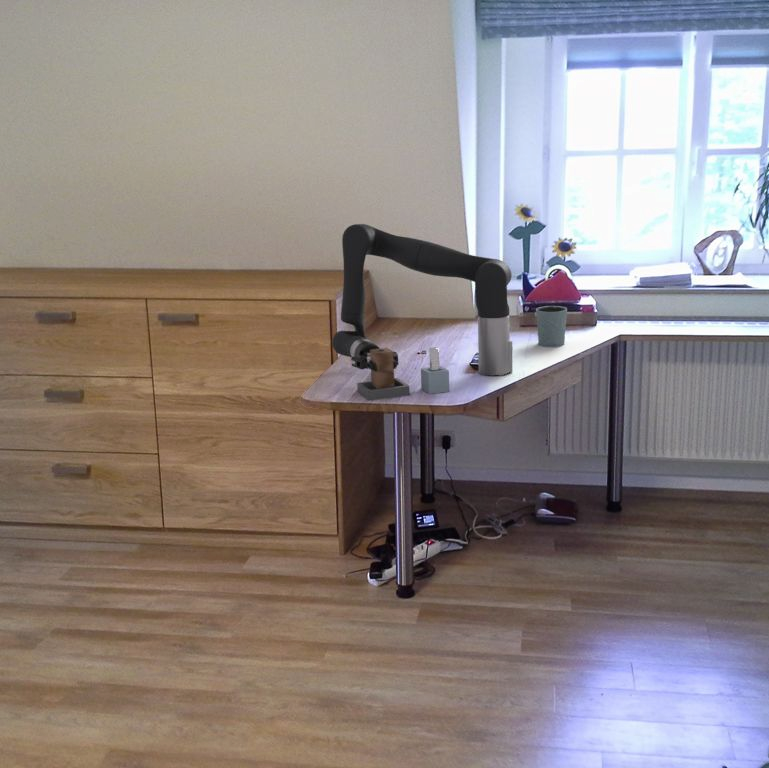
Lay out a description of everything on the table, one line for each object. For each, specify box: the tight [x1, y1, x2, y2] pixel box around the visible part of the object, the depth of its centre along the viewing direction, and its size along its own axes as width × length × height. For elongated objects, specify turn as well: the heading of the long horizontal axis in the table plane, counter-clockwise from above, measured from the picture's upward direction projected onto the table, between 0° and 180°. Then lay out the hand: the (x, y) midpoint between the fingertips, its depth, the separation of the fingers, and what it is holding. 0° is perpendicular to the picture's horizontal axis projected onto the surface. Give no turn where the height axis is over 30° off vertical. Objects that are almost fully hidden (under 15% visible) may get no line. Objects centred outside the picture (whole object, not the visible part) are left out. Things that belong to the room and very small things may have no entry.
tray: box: [356, 377, 411, 401], centre depth 258 cm, size 12×10×2 cm
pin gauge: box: [429, 346, 440, 372], centre depth 257 cm, size 3×3×12 cm
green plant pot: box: [535, 305, 568, 348], centre depth 306 cm, size 10×10×12 cm
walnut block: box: [370, 347, 395, 389], centre depth 256 cm, size 5×5×10 cm
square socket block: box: [420, 365, 450, 395], centre depth 258 cm, size 6×6×6 cm
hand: (385, 366), depth 253 cm, fingers closed on walnut block, 5 cm apart
